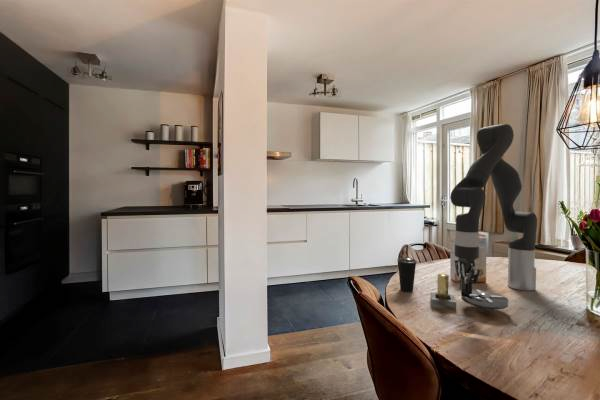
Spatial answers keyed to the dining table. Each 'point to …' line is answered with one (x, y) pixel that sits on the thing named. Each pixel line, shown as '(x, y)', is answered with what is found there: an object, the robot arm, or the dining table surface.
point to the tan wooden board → (464, 309)
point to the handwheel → (483, 298)
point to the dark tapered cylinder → (406, 272)
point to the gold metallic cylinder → (443, 286)
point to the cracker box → (479, 262)
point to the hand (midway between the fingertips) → (465, 291)
